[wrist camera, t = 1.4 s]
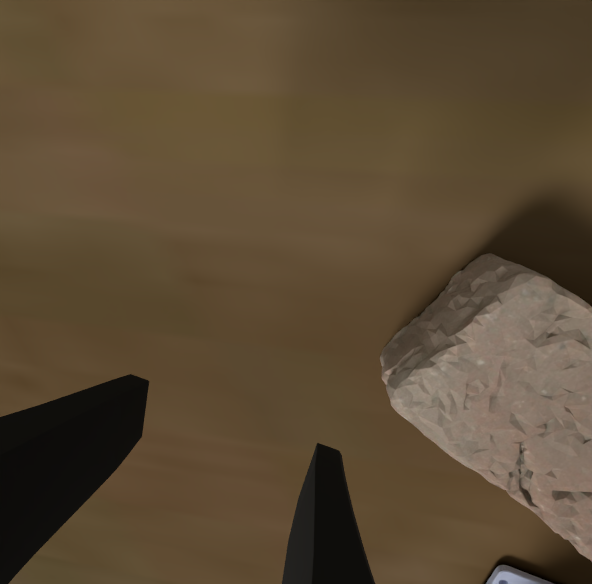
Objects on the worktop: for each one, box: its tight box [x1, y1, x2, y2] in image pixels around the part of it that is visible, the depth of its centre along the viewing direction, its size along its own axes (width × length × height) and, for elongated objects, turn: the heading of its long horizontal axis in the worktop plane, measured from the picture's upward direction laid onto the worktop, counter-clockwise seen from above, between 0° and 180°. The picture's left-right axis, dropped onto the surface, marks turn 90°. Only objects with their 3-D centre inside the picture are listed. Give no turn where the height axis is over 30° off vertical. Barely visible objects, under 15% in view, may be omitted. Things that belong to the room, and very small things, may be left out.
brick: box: [380, 253, 592, 562], centre depth 14 cm, size 17×8×5 cm, turn 55°
